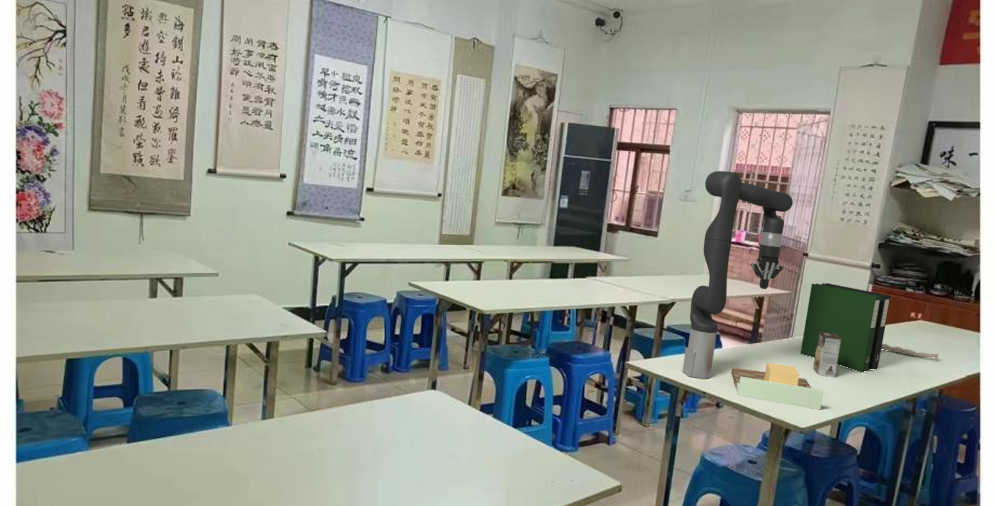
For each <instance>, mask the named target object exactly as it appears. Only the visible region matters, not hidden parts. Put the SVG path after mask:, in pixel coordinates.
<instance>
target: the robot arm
mask: <svg viewBox="0 0 994 506" xmlns="http://www.w3.org/2000/svg"><path fill="white" fill-rule="evenodd" d="M704 185H705V190H706V191H707V193H708V194H709V195H710V196H712V197H717V198H720V206H719V208H718V209H719V210H718V212H717V214H716V216H715V217H714V219H713V220H712V222H711V223H710V224H709V226H708V228H707V229H706V231H705V234H704V242H703V256H704V259H705V262H706V266H707V270H708V274H709V276H708V277H709V278H708V279H709V282H708V286H707V285H700V286H697V287H696V288H695V290H694V291H693V293H692V297H691V301H690V302H691V303H690V311H689V312H690V313H689V319H690V333H689V339H688V345H687V346H686V347H685V350H684V358H683V365H682V373H683V374H686V376H688V377H689V378H697V379H701V380H702V379H703V380H705V379H710V378H711V375H712V374H711V373H712V367H713V361H714V355H715V353H714V352H715V346H716V340H717V332H718V324H717V322H716V321H715V320H714V319H713V317H712V315H714V316H715V315H719V314H720V313H722V312H723V311H724V309H725V306H726V304H727V296H728V295H727V291H728V290H727V289H728V287H727V286H728V270H729V261H730V254H731V248H732V240H733V230H734V223H735V218H736V213H737V212H736V211H737V208H738V203H739V201H743V202H745V203H749V204H751V205H755V206H757V207H762V210H763V211H762V212H763V219H764V223H763V227H762V228H763V229H762V234H761V236H760V237H761V238H760V242H759V243H760V244H759V248H758V258H757V260H756V262H751V264H750V266H751V268H752V270H753V272H754V274H755V276H756V277H758V278H760V280H759V288H760V289H762V290H767V289H768V288H769V283H770V280H772V279H775V278H776V277H777V276H778V275H779V274H780V273H781V271H783V270H784V267H783V266H781V265H780V264H779V258H780V255H781V250H782V249H781V248H782V242H783V232H784V227H785V221H784V219H783V218H781V217H778V215H777V212H780V213H782V212H783V213H784V212H787V211H789V210H791V209H792V206H793V201H794V200H793V198H792V197H791V195H790V194H789V193H786V192H782V191H777V190H772V189H769V188H766V187H764V186H761V185H757V184H752V183H747V182H742V177H741V176H740V175H739V173H737V172H735V171H726V170H725V171H724V170H722V171H721V170H717V171H712V172H711V173H709V174H708V175H707V177H706V178H705V182H704Z"/></svg>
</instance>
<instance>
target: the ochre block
mask: <svg viewBox="0 0 994 506" xmlns="http://www.w3.org/2000/svg"><path fill="white" fill-rule="evenodd" d="M765 365H766V367H765V371H764V372H765V378H764V380H765V381H771V382H777V383H783V384H789V385H795V386H797V385H798V379H799V378H800V374H799V371H798V370H797V368H796V367H795V366H791V365H783V364H777V363H772V362H771V363H770V362H766V364H765Z"/></svg>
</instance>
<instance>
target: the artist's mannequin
mask: <svg viewBox="0 0 994 506" xmlns="http://www.w3.org/2000/svg"><path fill="white" fill-rule="evenodd" d="M881 349H884V350H890V352H891V351H894V352H898V353H897V354H902V353H903V354H905V355H907V354H908V355H907V356H912V355H913V356H912V357H919V358H934V360H935V362H936V361H937V360H938V361H939V353H936V354H935V353H927V352H916V351H914V350H913V349H912V350H911V349H908V348H905V349H904V348H903V347H900V346H891V345H889V344H887V343H882V348H881ZM894 352H893V353H894ZM938 361H937V362H938Z"/></svg>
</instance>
